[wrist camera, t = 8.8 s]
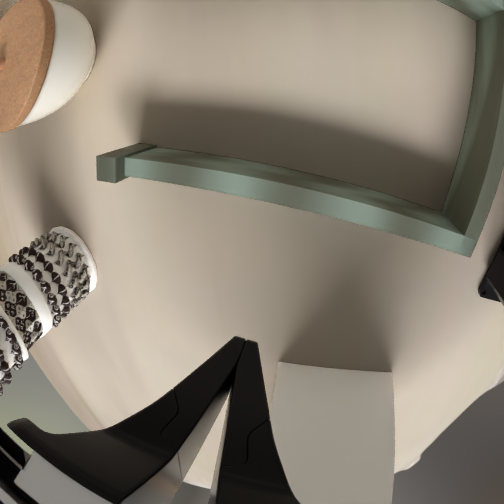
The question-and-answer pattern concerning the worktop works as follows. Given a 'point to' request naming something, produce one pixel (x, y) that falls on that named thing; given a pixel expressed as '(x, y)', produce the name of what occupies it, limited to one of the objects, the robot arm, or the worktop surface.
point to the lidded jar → (41, 59)
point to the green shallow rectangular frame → (355, 197)
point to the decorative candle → (40, 292)
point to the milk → (335, 433)
